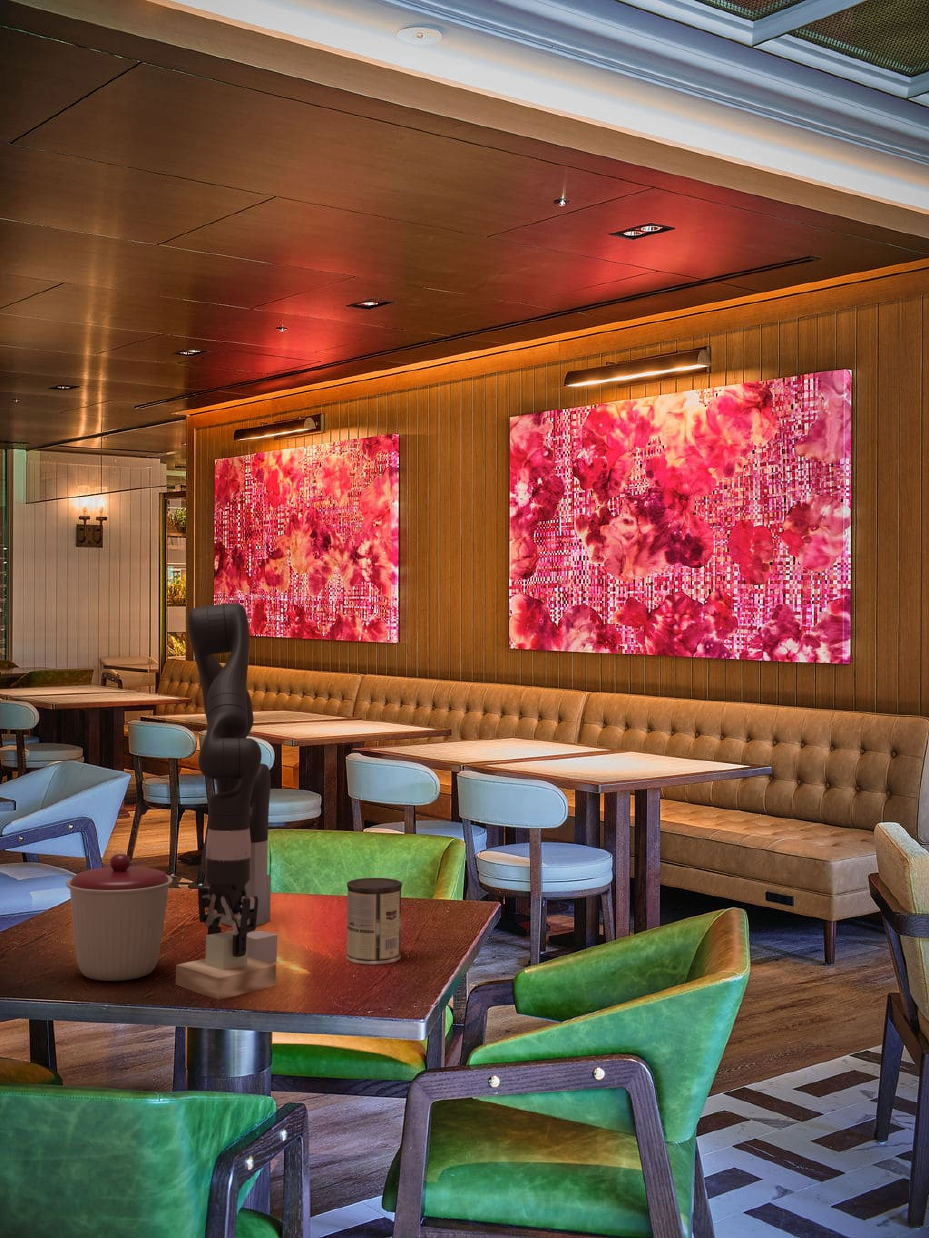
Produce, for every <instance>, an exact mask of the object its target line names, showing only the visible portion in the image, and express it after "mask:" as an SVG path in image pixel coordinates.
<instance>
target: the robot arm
mask: <svg viewBox="0 0 929 1238" xmlns="http://www.w3.org/2000/svg"><path fill="white" fill-rule="evenodd" d="M248 618H249V617H248V613H247V611H246V609H245V607H244V606H243V604H241V603H237V602H235V603H231V602H229V603H220V604H211V605H201V606H197V607H194V608H193V609H191V610H190V612H189V614H188V619H187V627H188V630H187V631H188V635H189V639H190V644H191V648H192V653H193V657H194V659H195V663H196V666H197V671H198V675H199V680H200V686H201V693H202V700H203V707H204V714H205V718H206V724H207V726H206V727H207V728H206V733H205V736H204V739H203V742H202V744H201V748H200V750H199V754H198V768H199V771H200V773H201V774H202V775H203V776H204V777H206V778H207V779H210V780H215V786H216V793H215V794H213V795H211V796H210V798H209V799H208V818H207V820H208V822H207V827H208V828H207V834H206V844H205V881H206V883H207V884H208V886H202V887H198V888H197V899H198V901H197V902H198V919H199V920H198V921H199V922H200V923H204V924H205V927H206V928H207V935H210V934H216V933H221V932H222V927H221V923H222V924H223V925H225V926H231V929H232V931H233V933H234V935H233V956H234V957H241V956H244V955H245V953H246V941H247V933H249V932H254V931H257V926H260V925H261V926H262V925H263V924H266V923H267V922H270V921H271V904H272V903H271V901H272V900H271V899H272V898H271V897H272V896H271V894H272V890H271V889H272V887H271V886H272V876H271V875H269V874H268V857H269V855H268V853H269V852H268V850H269V849H268V847H269V815H270V814H269V812H270V799H271V798H270V797H271V796H270V795H271V786H272V785H271V783H272V782H271V781H272V780H271V777H272V776H271V771H270V768H269V766H268V765H267V764H266V763H262V757H263V756H262V755H263V753H262V750H261V747H260V745H259V743H258V742H257V741H256V740H255V739H253V738H251V737H250V738H249V737H248V736H249V735H250V733H251V731H252V729H253V726H254V721H255V718H254V711H253V705H252V703H253V702H252V698H251V694H250V692H249V690H248V689H247V679H248V670H249V660H250V659H249V656H250V654H249V653H250V625H249V619H248ZM224 653H227V654H228V653H230V655H229V657H228V658H227V661H226V663H225V664H224V666H223V665H222V664H221V663H220V661H219V660H218V659H217V658H216V655H218V654H224ZM251 808H252V810H251ZM206 908H207V911H206Z"/></svg>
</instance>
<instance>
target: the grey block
mask: <svg viewBox="0 0 929 1238" xmlns="http://www.w3.org/2000/svg"><path fill="white" fill-rule="evenodd" d="M247 936H248V944H247V957H250V958H253V959H257V960H260V961H264V962H267V963H271V964H274V963H277V961H278V958H277V957H278V934H276V933H272V932H267V931H264V930H255V931H252V932H248V933H247Z"/></svg>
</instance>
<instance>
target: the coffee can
mask: <svg viewBox="0 0 929 1238" xmlns="http://www.w3.org/2000/svg"><path fill="white" fill-rule="evenodd" d="M402 886H403V883H402V881H400V880H399V879H398V880H397V879H394V878H388V877H387V878H385V877H364V878H355V879H351V880H349V881H347V883H346V887H347V892H346V893H347V894H346V895H347V896H346V897H347V900H346V901H347V904H346V905H347V908H346V914H347V915H346V918H347V919H346V921H347V922H346V960H347V961H348V962H351V963H352V964H353V963H355V964H359V965H360V964H361V965H371V966H372V965H373V966H374V965H387V964H393V963H396V962H398V961H399V960H401V958H402V957H401V936H402V935H401V932H402V931H401V928H402V927H401V923H402V917H401V916H402V888H403V887H402Z"/></svg>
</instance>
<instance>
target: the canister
mask: <svg viewBox="0 0 929 1238" xmlns="http://www.w3.org/2000/svg"><path fill="white" fill-rule="evenodd" d="M131 861H132V860H131V857H130V856H129V855H127V854H125V853H117V854H116V853H115V854H114V855H113V856H111V858H110V860H109V865H110V866H107V867H98V868H92V869H87V870H84V871H82V872H79V873H76V875H74V876H73V877H71V878H69V879H68V880H67V881H66V883H65V884H66V887H67V889H69V891H70V892H69V893H70V907H71V917H72V928H73V940H74V946H75V957H76V963H77V966H78V969H79V971H80V972H81V974H82V975H83V976H85V977H86V978H88V979H91V980H95V981H103V982H117V981H118V982H120V981H121V982H122V981H123V982H124V981H129V980H135V979H140V978H142V977H146V976H147V975H149V974H151V973H152V972H153V971H154V969H155V968H156V967H157V965H158V961H159V957H160V952H161V946H162V938H163V933H164V924H165V917H166V909H167V908H166V907H167V901H168V895H169V886H170V885H172V883H173V878H172V877H171V876H170V875H167V874H166V873H165V872H164V871H162V870H159V869H157V868H152V867H146V866H145V867H144V866H131V864H132V863H131Z"/></svg>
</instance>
